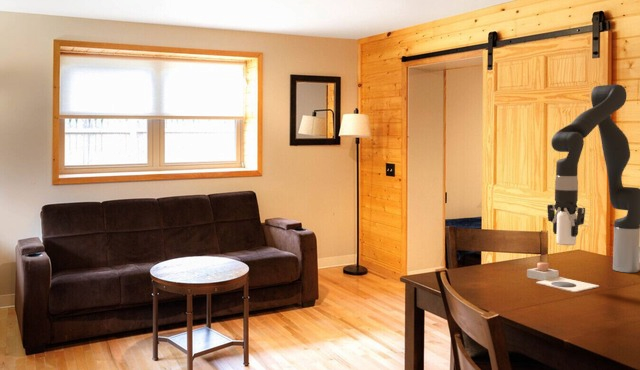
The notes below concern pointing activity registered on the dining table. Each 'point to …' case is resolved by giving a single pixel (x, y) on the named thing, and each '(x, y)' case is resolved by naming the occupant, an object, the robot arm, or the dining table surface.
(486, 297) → the dining table surface
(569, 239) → the can
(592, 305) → the dining table surface
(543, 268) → the button
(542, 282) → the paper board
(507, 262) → the dining table surface
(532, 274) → the button housing
